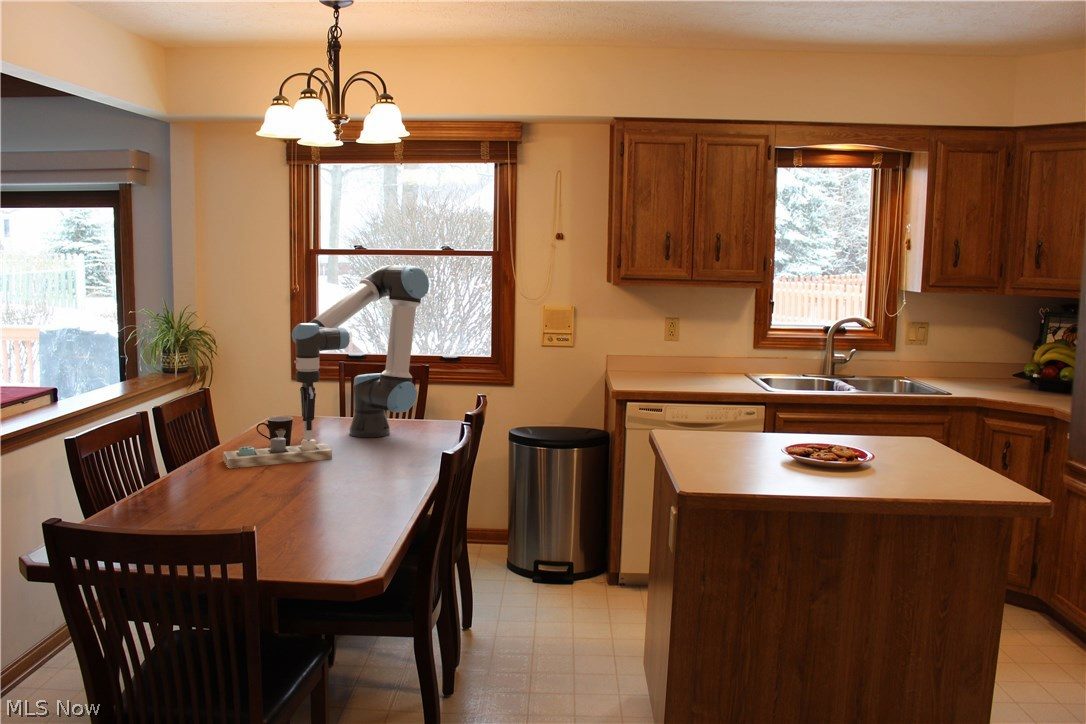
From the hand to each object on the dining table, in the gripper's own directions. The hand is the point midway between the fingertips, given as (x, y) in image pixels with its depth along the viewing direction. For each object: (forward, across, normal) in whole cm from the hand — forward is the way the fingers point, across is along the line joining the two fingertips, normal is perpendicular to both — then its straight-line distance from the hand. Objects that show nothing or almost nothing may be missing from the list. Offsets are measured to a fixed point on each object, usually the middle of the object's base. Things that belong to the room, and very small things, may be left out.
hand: (308, 439), depth 285 cm
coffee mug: (+6, -20, -7) cm, 22 cm away
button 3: (+6, 0, -20) cm, 21 cm away
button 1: (+5, 0, 0) cm, 5 cm away
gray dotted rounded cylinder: (+4, 0, -10) cm, 10 cm away
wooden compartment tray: (+6, 0, -10) cm, 12 cm away
